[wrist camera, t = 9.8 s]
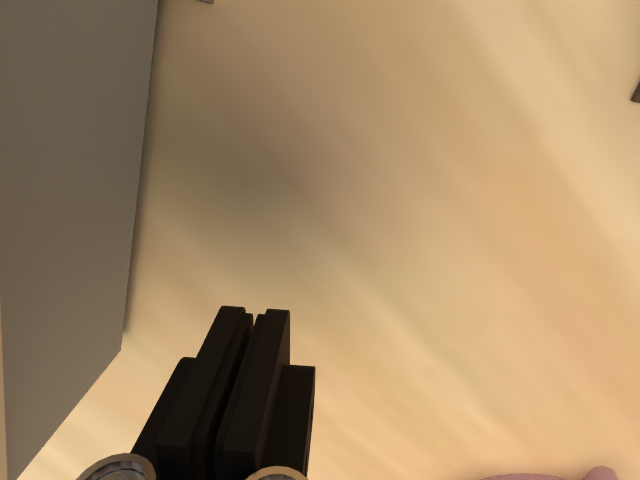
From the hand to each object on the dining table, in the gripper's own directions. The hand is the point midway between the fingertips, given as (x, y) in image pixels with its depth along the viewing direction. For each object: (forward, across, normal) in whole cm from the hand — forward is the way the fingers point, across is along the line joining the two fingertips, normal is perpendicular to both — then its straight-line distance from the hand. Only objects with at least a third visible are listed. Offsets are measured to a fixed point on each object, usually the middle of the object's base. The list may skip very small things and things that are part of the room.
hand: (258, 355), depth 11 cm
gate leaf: (+9, +8, -1) cm, 12 cm away
